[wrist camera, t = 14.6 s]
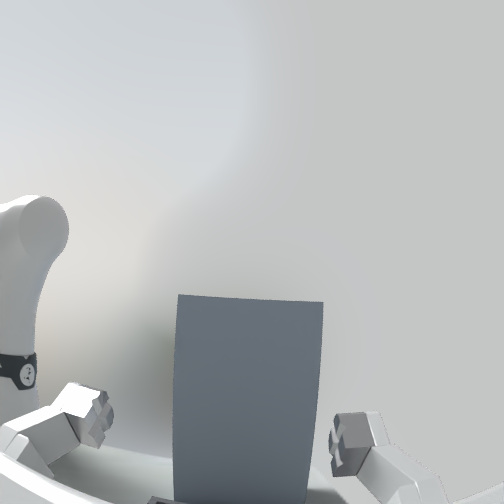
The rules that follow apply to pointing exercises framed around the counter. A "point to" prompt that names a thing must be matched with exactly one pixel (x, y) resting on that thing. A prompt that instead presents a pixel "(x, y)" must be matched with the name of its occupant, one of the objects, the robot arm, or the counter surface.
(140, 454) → the counter surface
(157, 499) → the charcoal tray
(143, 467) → the counter surface
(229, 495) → the slate stand
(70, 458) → the counter surface
